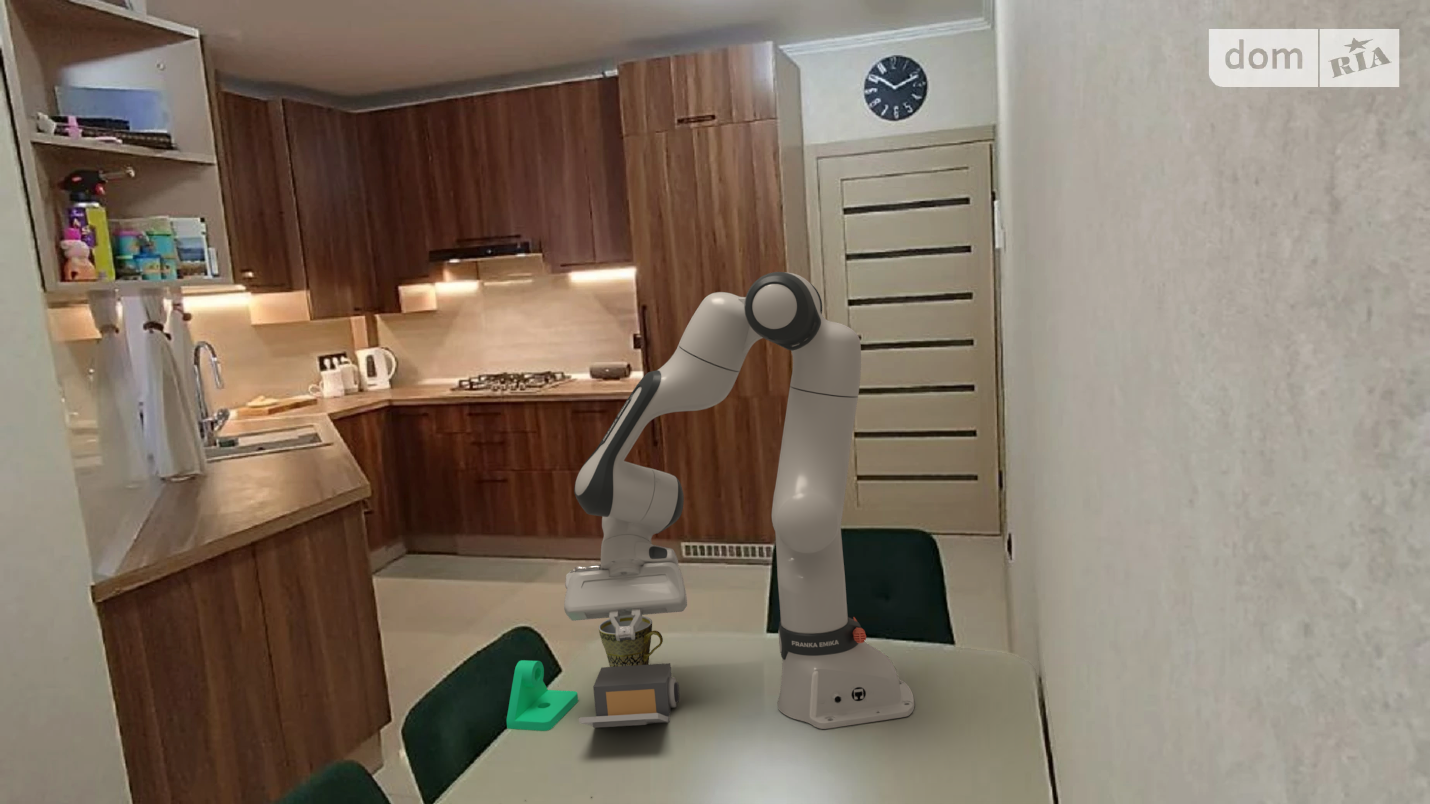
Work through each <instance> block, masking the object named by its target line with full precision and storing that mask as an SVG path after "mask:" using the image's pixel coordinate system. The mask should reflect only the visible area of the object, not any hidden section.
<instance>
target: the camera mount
mask: <svg viewBox="0 0 1430 804" xmlns="http://www.w3.org/2000/svg"><path fill="white" fill-rule="evenodd" d="M513 672H514V674H513V679H512V684H511V691H510V697H509V702H508V703H509V704H508V710H507V716H506V728H507V729H508V730H509V729H510V730H523V731H527V730H528V731H537V732H538V731H540V732H545V731H551V730H552V729H553V728H554V727H555V726H556V725H557V724H558V723H559V722H560V721H561V720H562V719H563V718H564V717H565V716H566V715H567V714H568V713H569V711H571V710H572V709H573V707H574V706H575V705H576V704H577V703H578V702H579V695H578V692H577V691H576V690H562V689H560V690H559V689H558V690H557V689H556V690H555V689H548V688H547V686H546V683H545V682H544V678H545V677H544V676H545V668H544V665H543V662H542V661H540V660H527V659H526V660H525V659H523V660H522V659H521V660H518V662H517V663H516V666H515V669H514V671H513Z"/></svg>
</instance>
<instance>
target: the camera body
mask: <svg viewBox="0 0 1430 804" xmlns="http://www.w3.org/2000/svg"><path fill="white" fill-rule="evenodd" d="M592 688H593V698H594V699H593V700H594V707H595V717H596V716H613V715H630V714H647V713H659V714H662V715H664V716H670V717H671V709H672V708H677V704H678V703H679V702H680V685H679V682H678V681H677V680H676V677H675V676H674V677H673V676H672V667H671V663H670V662H667V663H653V664H649V665H634V666H617V667H610V666H604V667H603V666H602V667H600V670H599V672H598V675H597V677H596V679H595V683H594V684H593V687H592Z"/></svg>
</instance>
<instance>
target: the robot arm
mask: <svg viewBox="0 0 1430 804" xmlns="http://www.w3.org/2000/svg"><path fill="white" fill-rule="evenodd" d="M762 339H764V340H767V341H769V342H771V343H773V344H776V345H777V346H779V347H781V348H784V349H786V350H788V351H790V352H791V354H792V372H791V377H790V384H789V391H788V397H787V403H786V404H787V405H786V411H785V417H784V418H785V419H784V425H783V431H782V438H781V445H780V452H779V459H778V465H777V466H778V467H777V474H776V480H775V487H774V490H773V491H774V492H773V497H772V508H771V523H772V527H773V529H774V532H775V546H776V547H775V548H776V549H775V551H776V552H775V553H776V567H777V568H776V570H777V572H776V573H777V587H778V600H779V601H778V602H779V610H780V611H779V612H780V621H779V622H778V631H777V632H778V644H779V645H778V646H779V653H780V657H781V659H782V663H781V664H782V666H781V667H782V668H781V682H780V689H779V695H778V697H777V698H778V699H777V702H776V703H777V706H776V707H777V708H778V710H779V711H780V712H781V713H782V714H784V715H785V716H787V717H789V718H791V719H794V720H798V721H801V722H804V723H805V722H806V723H808V724H810V725H811V726H813V727H815V728H818V729H822V730H827V729H833V728H839V727H846V726H853V725H860V724H867V723H873V722H879V721H880V722H881V721H886V720H893V719H900V718H905V717H909V716H910V715H911V714H912V713H913V712H914V709H915V698H914V695H913V691H912V690H911V688H910V686H909V685H908V684H907V683H906V682H905V681H904V680H902V679H900V678H899V676H898V673H897V669H896V668H895V666H894V663H893V662H892V660H891V659H890V658H889V657H888V656H887V655H886V653H884V652H882V651H880V650H878V648H877V649H876V648H875V647H874V646H873V645H871V644H869V643H867V642H866V641H865V640H867V635H866V631H865V629H864V628H862V627H861V624H860V622H858V620H857V619H856V617H855V616H853V618H852V617H849V616H848V604H847V590H846V589H847V588H846V586H847V585H846V575H845V565H844V562H845V561H844V552H843V540H842V529H841V526H842V521H843V515H844V514H843V513H844V508H845V507H844V506H845V498H846V490H847V489H846V488H847V482H848V474H849V473H848V471H849V466H850V465H849V464H850V463H849V462H850V455H851V444H852V438H853V431H854V426H855V418H856V413H857V407H858V399H859V392H860V383H861V374H862V372H861V370H862V348H861V347H862V346H861V344H862V343H861V340H860V337H859V335H858V334H857V332H856V331H855V330H853V328H851V327H850V326H847V325H845V324H844V323H841V322H837V321H836V322H835V321H831V320H828V319H826V317H824V315H823V302H822V298H821V295H820V293H819V291H818V289H817V288H816V287H815V286H814V284H812V283H811V282H810V281H808V280H807V279H806V278H805V277H804V276H801V275H799V274H796V273H793V272H785V271H774V272H768V273H766V274H763V275H762V276H760V277H759V278H758V279H757V280H755V281H754V282H753V283H752V284H751V286H750V287H749V289H748V291H747V293H746V295H745V296H739V295H736V294H734V293H732V292H731V293H730V292H724V291H717V292H712V293H710V294H708V295H707V296H706V297H704V299H703V300H702V301H701V302H700V304H699V305H698V307H697V309H696V310H695V312H694V314H692V316H691V319H690V320H689V322H688V324H687V326H686V327H685V329H684V331H683V333H682V336H681V337H680V340H679V343H678V345H677V348H676V349H675V351H674V352H673V354H672V355H671V356H670V358H669V359H668V360H667V361H666V362H665V363H664V364H663V365H662V366H661V367H660V368H659V369H657V370H653V371H649V372H648V371H647V373H646V374H645V375H644V376H643V377H642V378H641V379H640V380H639V382H638V383H637V384H636V386H635V387H634V388H633V390H632V392H631V393H630V395H629V396H628V398H627V399H626V401H625V403H624V404H623V406H622V407H621V408H620V411H619V412H618V414H617V415H616V417H615V418H614V420H613V422H612V423H611V425H610V427H608V430H607V432H606V433H604V436H603V438H602V439H601V441H600V442H599V444H598V446H597V447H596V448H595V450H594V451H593V452H592V453H591V455H590V456H589V457H588V458H587V459H586V461H584V464H583V465H582V466H581V468H580V470H579V471H578V474H577V477H576V480H575V482H574V488H573V491H574V493H573V494H574V495H575V498H576V500H577V503H579V506H580V507H581V508H582V509H583V511H584V512H585V513H586V514H587V515H589V516H590V515H591V516H597V517H602V518H601V528H602V533H603V538H602V540H601V545H600V546H601V547H600V564H595V565H593V564H591V565H586V566H582V565H581V566H579V565H578V566H575V567H574V569H571V570H570V571H569V572H568V573H566V575H565V584H564V586H565V588H566V591H565V597H564V604H563V609H564V613H565V615H566V616H567V618H568V619H570V620H571V621H573V622H574V621H585V620H586V621H587V620H588V621H589V620H599V619H607V618H608V619H610V621H611V623H612V625H613V626H614V628H615V629H616V639H617V641H623V640H635V630H636V629H637V628H638V626H639V624H640V623H641V621H642V616H647V615H658V614H659V615H660V614H671V613H682V612H684V611H685V609H686V608H687V607H688V597H687V591H686V585H685V582H684V578H683V574H682V570H681V568H680V567H679V560H678V557H677V554H676V552H675V551H674V549H673V548H671V547H667V546H662V545H661V546H660V545H658V544H657V545H656V544H652V537H653V535H655V534H656V535H658V534H660V533H662V532H663V531H665V530H666V529H668V528H670V526H672V525H673V524H675V523H676V522H677V521H678V520H679V519H680V517H681V515H682V513H683V508H684V501H685V500H684V499H685V497H684V491H683V486H682V484H681V482H680V480H679V479H678V478H677V477H676V475H673V474H671V473H668V472H665V471H662V470H657V469H654V468H651V467H647V466H646V467H645V466H642V465H639V464H636V463H632V462H629V461H626V460H625V459H626V458H627V457H628V454H629V453H630V451H631V450H632V448H633V446H634V445H635V443H636V442H637V440H638V439H639V438H640V435H641V434H642V432H643V431H644V429H645V427H646V426H647V425H648V424H649V423H650V422H652V420H654V419H655V418H657V417H660V416H663V415H665V414H670V413H677V412H694V411H701V410H702V411H703V410H707V409H709V408H712V407H714V406H716V405H718V404H720V403H722V401H724V400H725V399H726V398H727V396H728V395H729V394H730V392H731V391H732V390H733V387H734V385H735V384H736V383H735V382H736V380H737V378H738V376H739V373H740V372H741V370H742V369H741V368H743V367H742V366H743V365H744V362H745V360H746V357H747V355H748V353H749V351H750V349H751V348H752V346H753V345H754V344H755V343H756V342H758V341H759V340H762ZM624 616H632V617H633V620H632V622H631V624H630V626H623V627H620V626H619V624H618V623H617V622H620V617H624Z"/></svg>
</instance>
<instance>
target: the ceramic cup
mask: <svg viewBox="0 0 1430 804" xmlns="http://www.w3.org/2000/svg"><path fill="white" fill-rule="evenodd" d="M632 620H633V617H632V616H624V617H620V622H617V623H618V624H619V626H620V627H623V626H630V624H631V622H632ZM598 632H599V636H600V640H601V644H602V646H603V648H604V650H605V653H606V658H607V661H608V664H609V667H617V666H634V665H650V664H649V661H650V656H652V654H653V653H654V652H655V651H656V650H657V649H659V648H660V647H661V646H662V644H663V642H664V639H663V638H664V637H663V636H662V633H661V632H660V631H659V630H653V620H652V619H651V618H650V617H648V616H646V615H642V621H641V623H640V624H639V626H638V628H637V629H636V630H635V640H623V641H617V639H616V629H615V628H614V626H613V625H612V623H611V621H610V618H608V619H606V620H604V621H602V622H601V623H600V624H599V625H598ZM653 635H655V636H657V637H658V638H659V644H657V645H656V646H655V647H653V648H652V650H651V644H652V643H651V642H652V636H653Z"/></svg>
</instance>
